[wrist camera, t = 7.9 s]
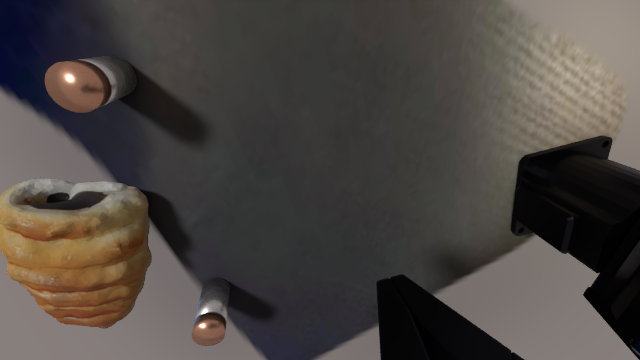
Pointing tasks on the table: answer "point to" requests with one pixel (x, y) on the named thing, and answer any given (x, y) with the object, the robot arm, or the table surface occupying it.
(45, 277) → the pastry
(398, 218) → the table surface
